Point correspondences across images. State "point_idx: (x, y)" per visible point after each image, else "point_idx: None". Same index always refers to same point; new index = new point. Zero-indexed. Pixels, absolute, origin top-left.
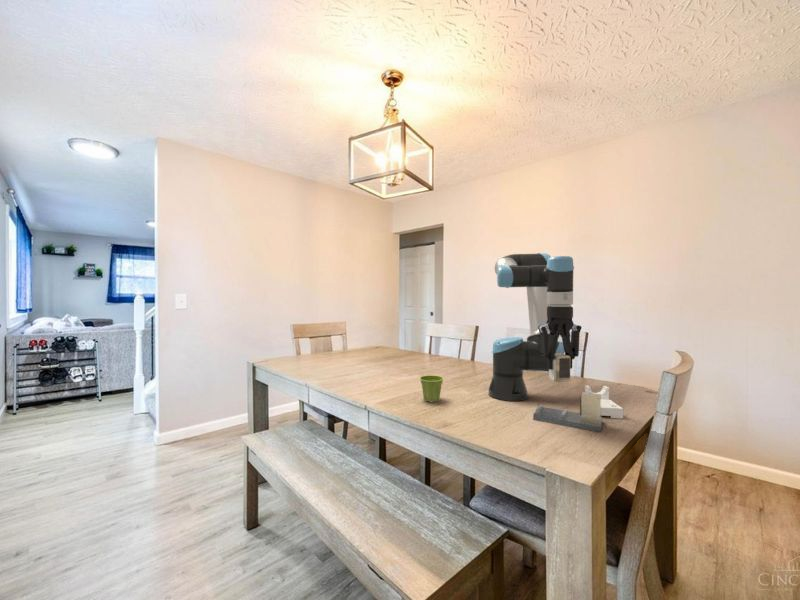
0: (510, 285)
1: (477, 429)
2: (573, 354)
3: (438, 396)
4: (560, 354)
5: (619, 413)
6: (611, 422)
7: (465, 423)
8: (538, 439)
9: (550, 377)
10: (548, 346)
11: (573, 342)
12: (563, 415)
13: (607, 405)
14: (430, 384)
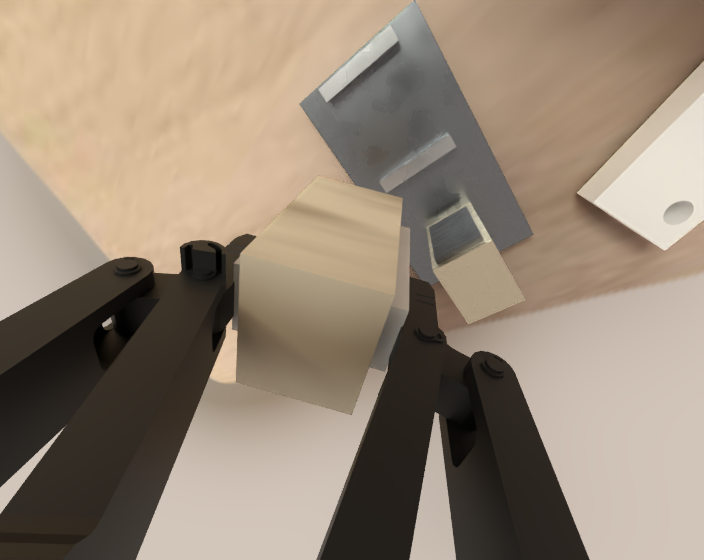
0: None
1: (70, 111)
2: (437, 405)
3: None
4: (338, 330)
5: (640, 235)
6: (548, 243)
7: (30, 35)
8: (225, 245)
9: None
10: (122, 363)
11: (480, 556)
12: (384, 188)
13: (664, 195)
14: None
